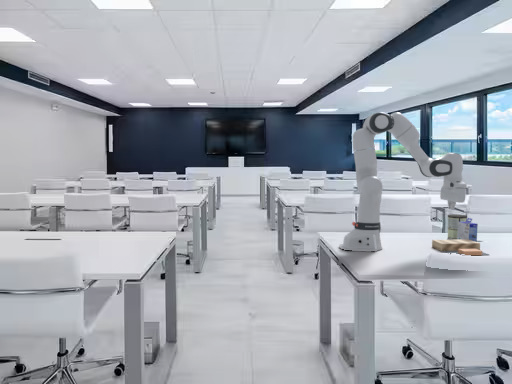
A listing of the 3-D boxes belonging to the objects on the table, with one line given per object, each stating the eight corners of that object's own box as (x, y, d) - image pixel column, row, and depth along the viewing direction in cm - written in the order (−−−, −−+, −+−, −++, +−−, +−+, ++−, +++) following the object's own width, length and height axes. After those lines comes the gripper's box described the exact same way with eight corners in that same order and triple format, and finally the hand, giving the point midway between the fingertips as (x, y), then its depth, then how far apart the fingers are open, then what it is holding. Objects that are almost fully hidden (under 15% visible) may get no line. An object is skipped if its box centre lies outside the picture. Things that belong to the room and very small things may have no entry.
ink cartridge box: (477, 245, 229) (478, 219, 228) (468, 246, 228) (469, 219, 227) (465, 242, 239) (465, 217, 238) (456, 242, 238) (457, 217, 237)
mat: (453, 255, 205) (453, 255, 205) (443, 251, 215) (443, 250, 215) (489, 255, 206) (489, 254, 206) (477, 250, 216) (478, 250, 216)
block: (457, 248, 210) (457, 252, 210) (464, 251, 204) (464, 255, 204) (475, 248, 210) (475, 252, 210) (482, 251, 204) (482, 255, 204)
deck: (441, 251, 215) (441, 243, 215) (432, 247, 226) (432, 239, 226) (479, 250, 216) (480, 243, 215) (468, 246, 227) (468, 239, 226)
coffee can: (450, 236, 258) (451, 213, 257) (468, 238, 251) (469, 215, 250) (444, 238, 250) (445, 215, 250) (463, 240, 243) (463, 216, 242)
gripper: (437, 182, 231) (436, 207, 232) (456, 184, 210) (454, 211, 211) (449, 182, 231) (447, 207, 232) (468, 184, 210) (467, 211, 211)
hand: (451, 209), depth 221 cm, fingers closed
